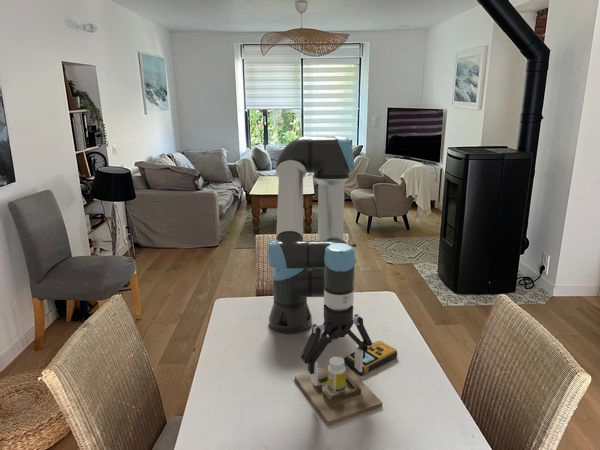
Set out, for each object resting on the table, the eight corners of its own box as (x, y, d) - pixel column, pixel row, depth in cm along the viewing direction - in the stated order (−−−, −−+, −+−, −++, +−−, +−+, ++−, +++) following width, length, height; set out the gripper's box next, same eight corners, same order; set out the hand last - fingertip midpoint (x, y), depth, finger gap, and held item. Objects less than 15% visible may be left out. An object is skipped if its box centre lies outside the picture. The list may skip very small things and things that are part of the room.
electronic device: (398, 359, 135) (399, 349, 134) (362, 378, 126) (363, 368, 125) (378, 347, 142) (379, 338, 141) (342, 364, 132) (342, 354, 131)
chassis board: (294, 379, 125) (294, 371, 124) (343, 365, 131) (343, 357, 130) (327, 425, 107) (328, 416, 107) (382, 406, 114) (382, 397, 113)
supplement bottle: (347, 384, 120) (347, 357, 118) (342, 395, 116) (343, 367, 114) (330, 381, 122) (330, 354, 120) (325, 391, 118) (325, 364, 115)
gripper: (300, 321, 103) (300, 397, 110) (387, 300, 114) (383, 371, 120) (287, 307, 110) (288, 380, 116) (371, 289, 120) (368, 357, 126)
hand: (336, 376), depth 118 cm, fingers open, 13 cm apart
